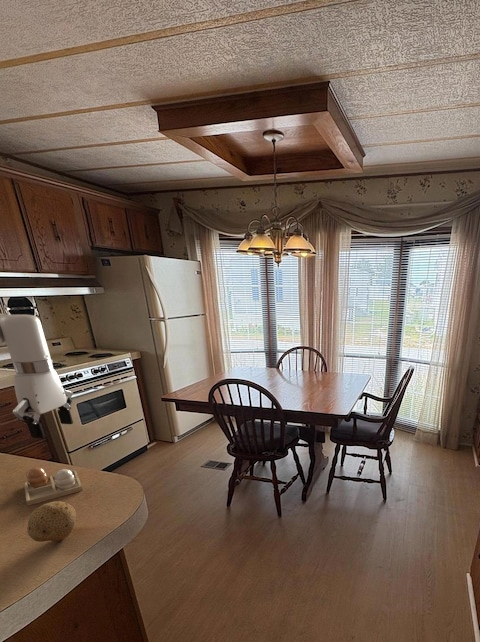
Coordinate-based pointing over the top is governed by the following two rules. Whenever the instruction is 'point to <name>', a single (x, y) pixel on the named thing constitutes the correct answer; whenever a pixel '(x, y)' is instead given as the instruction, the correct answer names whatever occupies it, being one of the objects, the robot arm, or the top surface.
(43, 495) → the cream divided tray
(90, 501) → the top surface
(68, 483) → the white egg
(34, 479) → the brown egg
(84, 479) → the top surface
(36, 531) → the natural sponge
